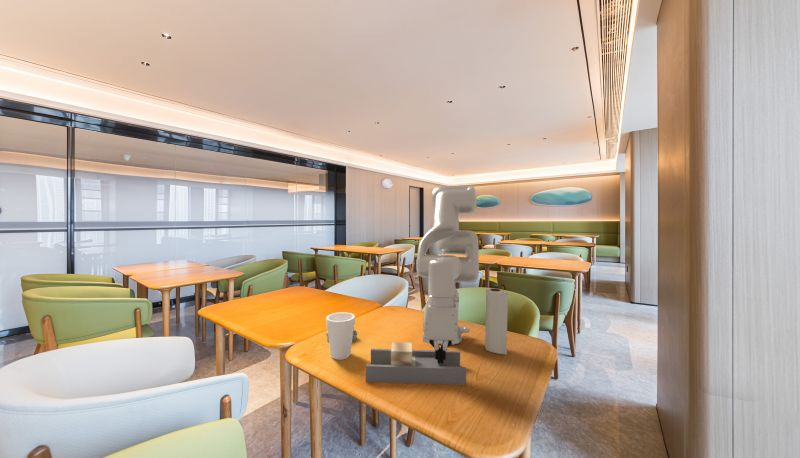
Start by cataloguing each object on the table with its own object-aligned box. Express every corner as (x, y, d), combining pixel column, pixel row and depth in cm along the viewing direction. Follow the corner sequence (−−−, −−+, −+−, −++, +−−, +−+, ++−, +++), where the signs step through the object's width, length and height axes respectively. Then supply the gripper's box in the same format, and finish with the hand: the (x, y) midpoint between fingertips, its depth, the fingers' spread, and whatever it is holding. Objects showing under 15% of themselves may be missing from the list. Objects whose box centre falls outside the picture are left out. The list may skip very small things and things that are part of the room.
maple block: (411, 358, 90) (411, 342, 90) (411, 368, 84) (411, 351, 84) (392, 358, 90) (392, 342, 90) (390, 368, 84) (391, 351, 84)
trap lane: (459, 364, 92) (459, 350, 92) (465, 384, 81) (466, 368, 81) (371, 362, 93) (371, 348, 93) (365, 381, 82) (365, 366, 82)
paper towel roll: (483, 345, 106) (484, 287, 106) (499, 346, 106) (501, 287, 105) (488, 354, 99) (489, 292, 98) (506, 355, 99) (507, 292, 98)
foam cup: (340, 364, 92) (341, 323, 91) (320, 357, 97) (320, 318, 96) (360, 353, 100) (360, 315, 99) (340, 346, 105) (340, 310, 104)
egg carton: (333, 348, 104) (333, 336, 104) (324, 340, 110) (324, 330, 110) (359, 340, 111) (359, 329, 110) (350, 334, 117) (350, 324, 116)
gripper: (464, 297, 90) (463, 356, 90) (415, 296, 90) (415, 354, 91) (468, 305, 82) (467, 369, 83) (415, 303, 83) (414, 367, 84)
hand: (440, 361), depth 87 cm, fingers closed
